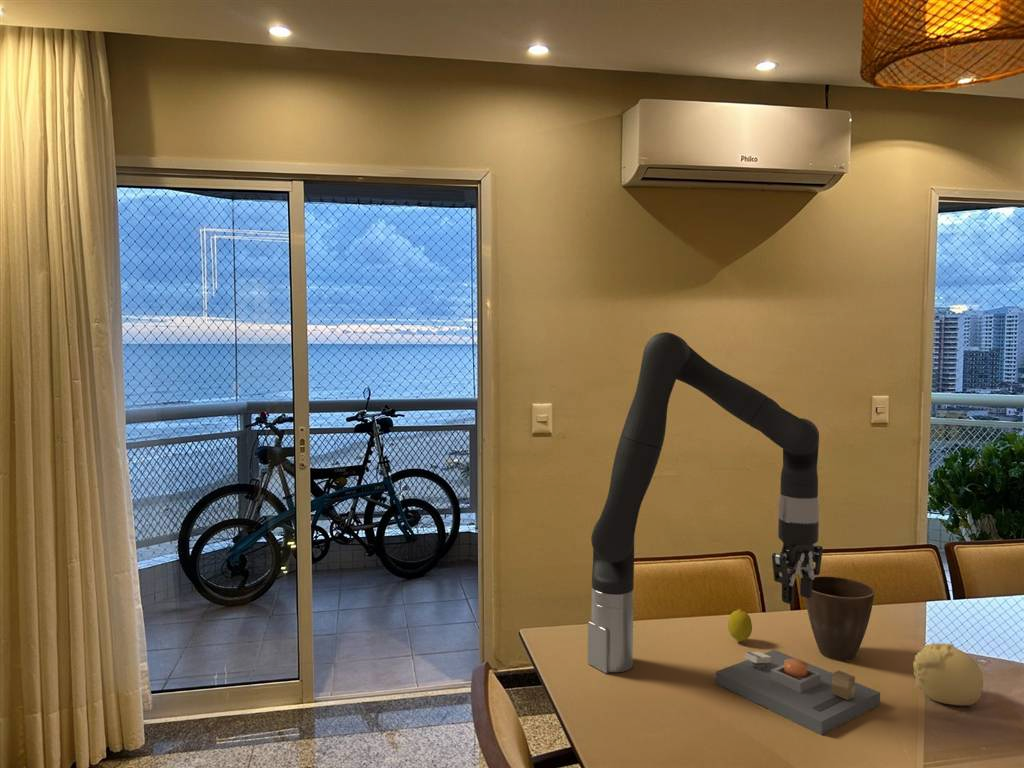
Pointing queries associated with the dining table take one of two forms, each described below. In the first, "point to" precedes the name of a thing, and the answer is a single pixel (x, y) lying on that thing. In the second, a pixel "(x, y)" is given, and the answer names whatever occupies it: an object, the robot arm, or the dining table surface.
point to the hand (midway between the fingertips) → (796, 599)
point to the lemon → (739, 625)
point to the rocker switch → (757, 657)
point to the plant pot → (839, 615)
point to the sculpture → (948, 675)
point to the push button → (795, 668)
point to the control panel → (796, 692)
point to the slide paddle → (843, 685)
